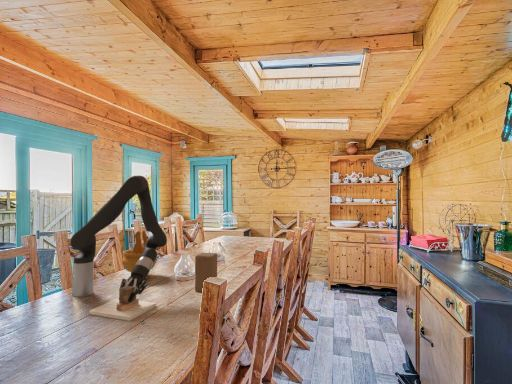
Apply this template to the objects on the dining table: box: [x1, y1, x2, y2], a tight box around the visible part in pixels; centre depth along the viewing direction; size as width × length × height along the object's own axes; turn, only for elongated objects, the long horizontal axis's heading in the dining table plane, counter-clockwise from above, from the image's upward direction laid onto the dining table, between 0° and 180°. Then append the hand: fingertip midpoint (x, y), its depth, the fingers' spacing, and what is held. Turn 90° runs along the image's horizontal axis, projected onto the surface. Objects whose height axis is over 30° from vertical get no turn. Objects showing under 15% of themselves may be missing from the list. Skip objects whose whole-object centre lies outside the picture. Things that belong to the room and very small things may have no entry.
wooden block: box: [194, 252, 218, 293], centre depth 171 cm, size 10×10×20 cm
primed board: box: [88, 297, 157, 322], centre depth 141 cm, size 22×18×2 cm
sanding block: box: [117, 285, 140, 311], centre depth 140 cm, size 5×9×9 cm, turn 162°
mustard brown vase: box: [121, 229, 158, 279], centre depth 196 cm, size 21×21×30 cm
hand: (124, 300), depth 138 cm, fingers closed on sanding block, 4 cm apart
